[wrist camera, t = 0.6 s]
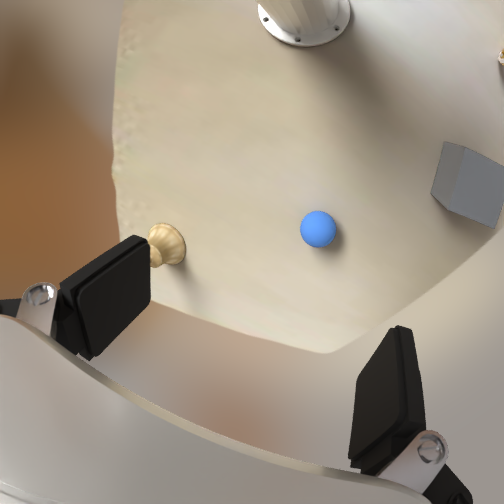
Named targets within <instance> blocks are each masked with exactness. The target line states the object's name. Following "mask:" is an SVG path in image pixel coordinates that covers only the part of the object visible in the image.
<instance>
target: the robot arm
mask: <svg viewBox="0 0 504 504" xmlns="http://www.w3.org/2000/svg"><path fill="white" fill-rule="evenodd" d="M256 2H257V3H258V14H259V18H260V20H261V23H262V24H263V26H264V27H265V29H266V30H267V31H268V32H269V33H270V34H271V35H273V36H274V37H275V38H277V39H279V40H281V41H282V42H285V43H288V44H291V45H295V46H306V47H310V46H318V45H321V44H325V43H328V42H330V41H332V40H334V39H335V38H336V37H338V36H339V35H340V34H341V33H342V32H343V31H344V30H345V28H346V27H347V25H348V23H349V19H350V4H349V2H348V0H256ZM267 20H269V21H268V22H266V21H267ZM335 29H338V31H335ZM298 40H301V41H300V42H297V41H298ZM150 249H151V248H150V245H149V244H148V241H147V240H146V239H145V238H142V237H139V236H137V235H132V236H130V237H128V238H127V239H125V240H124V241H122V242H120V243H119V244H117V245H116V246H114V247H113V248H111V249H110V250H108V251H106V252H105V253H103V254H102V255H100V256H99V257H97V258H96V259H94V260H93V261H91V262H90V263H89V264H87V265H85V266H84V267H82V268H81V269H79V270H78V271H77V272H75V273H73V274H72V275H71V276H69V277H68V278H66V279H65V280H63V281H62V282H61V283H60V288H61V289H59V290H58V291H57V289H56V287H55V286H54V285H52V284H50V283H37V284H34V285H32V286H31V287H29V288H28V289H27V290H26V291H25V293H24V294H23V297H22V298H20V299H6V300H0V504H473V499H472V495H471V493H470V492H469V490H468V489H467V488H466V487H465V486H464V484H463V483H462V482H461V481H460V480H459V479H458V478H457V476H456V475H455V474H454V473H453V472H452V471H451V469H450V468H449V467H448V466H447V465H446V464H445V462H446V460H447V458H448V453H449V451H448V445H447V443H446V440H445V439H444V438H443V436H442V435H440V434H439V433H438V432H436V431H433V430H426V420H425V409H424V400H423V399H424V398H423V390H422V382H421V375H420V371H419V367H418V361H417V354H416V349H415V343H414V337H413V332H412V330H411V329H409V328H406V327H402V326H399V325H397V326H396V327H395V328H390V329H389V331H388V332H387V334H386V335H385V337H384V338H383V340H382V342H381V343H380V345H379V346H378V348H377V350H376V351H375V352H374V354H373V355H372V357H371V358H370V360H369V361H368V363H367V364H366V366H365V367H364V368H363V370H362V371H361V373H360V374H359V376H358V378H357V381H356V392H355V403H354V413H353V422H352V431H351V438H350V445H349V452H348V458H349V459H351V465H350V467H351V468H358V469H361V473H360V474H359V473H354V472H349V471H344V470H338V469H334V468H329V467H324V466H320V465H316V464H312V463H308V462H304V461H300V460H296V459H292V458H288V457H285V456H282V455H278V454H275V453H271V452H268V451H265V450H261V449H259V448H256V447H253V446H250V445H247V444H244V443H241V442H239V441H236V440H233V439H231V438H228V437H226V436H223V435H220V434H218V433H215V432H213V431H210V430H208V429H206V428H203V427H201V426H199V425H197V424H194V423H192V422H190V421H187V420H186V419H183V418H181V417H179V416H177V415H175V414H173V413H171V412H169V411H167V410H165V409H163V408H161V407H159V406H157V405H155V404H153V403H151V402H150V401H148V400H146V399H144V398H142V397H140V396H138V395H137V394H135V393H133V392H132V391H129V390H128V389H126V388H125V387H123V386H121V385H120V384H118V383H116V382H115V381H113V380H112V379H110V378H108V377H107V376H105V375H104V374H102V373H101V372H99V371H97V370H96V369H94V368H93V367H91V366H90V365H89V364H87V363H86V362H84V361H83V360H81V359H80V358H78V357H77V356H76V355H77V354H78V353H79V354H80V355H81V356H82V357H84V358H85V359H87V360H88V361H90V360H91V359H92V358H93V357H94V356H95V357H96V356H98V355H100V354H101V353H102V352H103V350H104V349H105V348H106V347H108V345H109V344H110V343H111V342H112V341H113V340H114V339H115V338H116V337H117V336H118V335H119V334H120V333H121V332H122V331H123V330H124V329H125V328H126V327H127V326H128V325H129V324H130V323H131V322H132V321H133V320H134V319H135V318H136V317H137V316H138V315H139V314H140V313H141V312H142V311H143V310H144V309H145V308H146V307H147V306H148V305H149V302H150V299H151V289H150Z"/></svg>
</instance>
